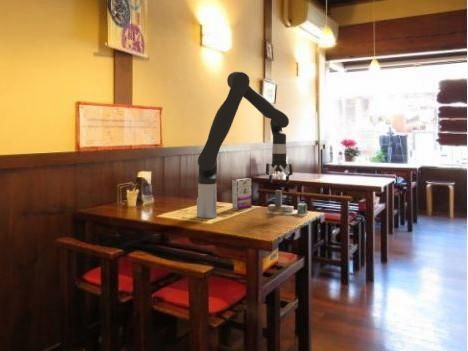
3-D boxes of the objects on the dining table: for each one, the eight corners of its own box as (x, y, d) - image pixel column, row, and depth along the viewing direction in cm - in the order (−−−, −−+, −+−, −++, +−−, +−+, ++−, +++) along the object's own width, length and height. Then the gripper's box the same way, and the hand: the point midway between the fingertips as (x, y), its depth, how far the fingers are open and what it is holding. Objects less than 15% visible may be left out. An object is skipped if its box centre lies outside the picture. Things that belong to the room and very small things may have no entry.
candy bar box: (246, 205, 236) (246, 178, 234) (251, 206, 233) (252, 178, 231) (231, 208, 229) (231, 179, 227) (237, 209, 225) (237, 180, 223)
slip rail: (266, 213, 214) (266, 203, 214) (271, 210, 223) (271, 200, 223) (304, 216, 207) (304, 206, 207) (307, 212, 216) (308, 202, 216)
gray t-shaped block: (268, 209, 217) (268, 190, 216) (270, 208, 220) (270, 189, 219) (292, 211, 213) (292, 191, 212) (293, 210, 216) (293, 190, 214)
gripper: (264, 152, 212) (264, 183, 214) (290, 153, 207) (290, 184, 209) (268, 151, 219) (268, 181, 221) (294, 152, 214) (293, 182, 216)
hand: (279, 182), depth 215 cm, fingers open, 8 cm apart
